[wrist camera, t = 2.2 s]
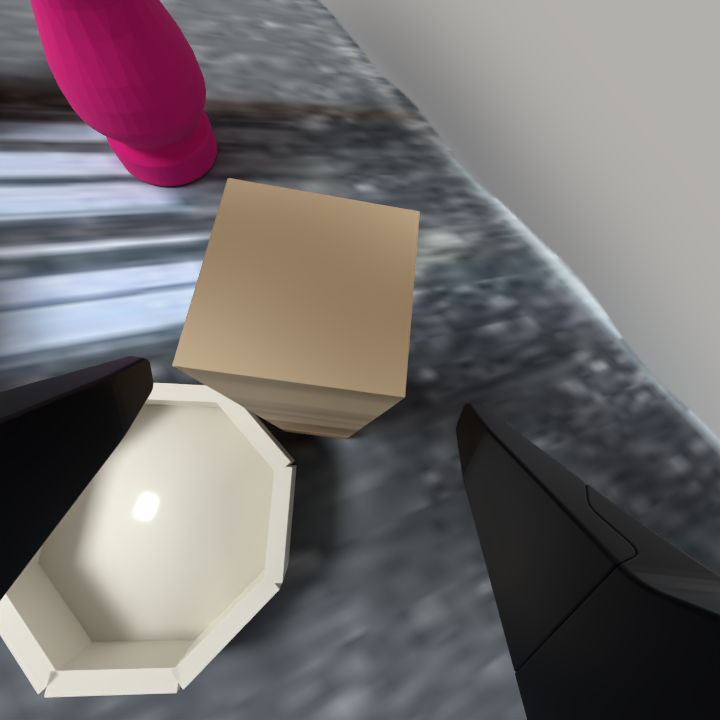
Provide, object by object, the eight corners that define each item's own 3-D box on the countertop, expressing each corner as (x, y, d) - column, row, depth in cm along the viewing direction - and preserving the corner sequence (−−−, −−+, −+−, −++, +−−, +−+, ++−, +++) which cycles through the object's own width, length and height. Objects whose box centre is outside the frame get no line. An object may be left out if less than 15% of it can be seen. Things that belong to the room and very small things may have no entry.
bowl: (340, 513, 17) (343, 523, 15) (133, 726, 14) (94, 782, 12) (200, 350, 19) (182, 335, 16) (-14, 508, 16) (-75, 518, 13)
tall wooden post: (346, 439, 18) (404, 397, 5) (285, 431, 18) (171, 365, 5) (353, 380, 19) (420, 211, 6) (295, 372, 19) (227, 177, 6)
